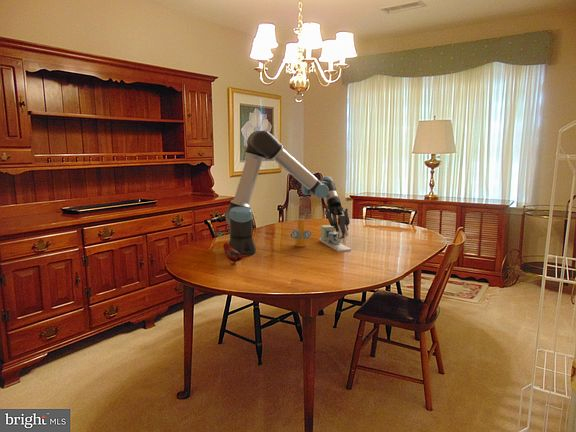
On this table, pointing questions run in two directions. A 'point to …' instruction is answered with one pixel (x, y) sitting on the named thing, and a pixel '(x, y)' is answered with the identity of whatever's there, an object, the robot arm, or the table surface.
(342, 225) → the grey upright bracket
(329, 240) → the outer sleeve
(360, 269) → the table surface
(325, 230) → the socket block
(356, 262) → the table surface
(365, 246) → the table surface
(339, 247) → the base plate
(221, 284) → the table surface
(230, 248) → the decorative bird figurine
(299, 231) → the orange grey upright piece
